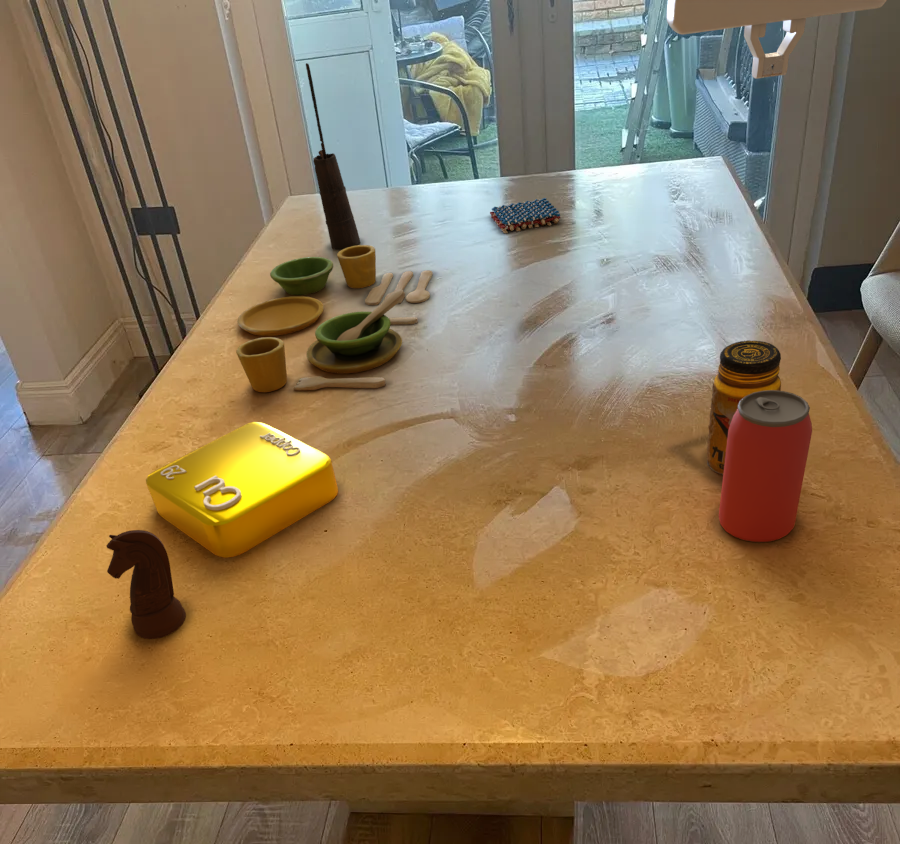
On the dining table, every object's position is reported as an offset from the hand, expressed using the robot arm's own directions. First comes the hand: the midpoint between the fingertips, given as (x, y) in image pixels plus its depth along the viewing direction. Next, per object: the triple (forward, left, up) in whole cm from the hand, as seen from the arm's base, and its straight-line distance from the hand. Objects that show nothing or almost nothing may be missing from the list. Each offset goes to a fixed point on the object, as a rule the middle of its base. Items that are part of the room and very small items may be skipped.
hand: (768, 76), depth 83 cm
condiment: (+7, +23, -29) cm, 38 cm away
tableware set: (+52, -23, -29) cm, 64 cm away
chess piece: (+62, +39, -29) cm, 79 cm away
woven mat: (+20, -59, -29) cm, 69 cm away
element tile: (+57, +21, -29) cm, 67 cm away
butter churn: (+52, -59, -29) cm, 84 cm away
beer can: (+8, +34, -29) cm, 46 cm away
